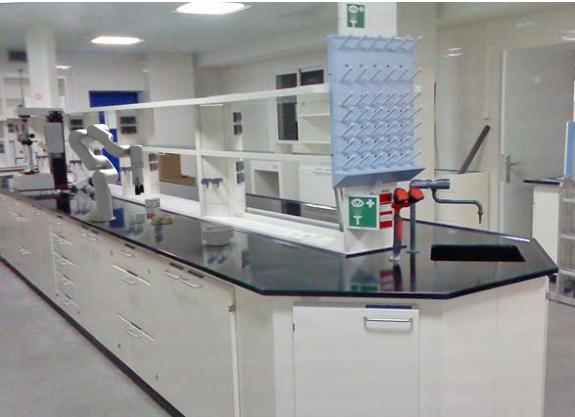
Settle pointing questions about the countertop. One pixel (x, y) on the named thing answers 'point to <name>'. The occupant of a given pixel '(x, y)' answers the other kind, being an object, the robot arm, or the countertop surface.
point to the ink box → (152, 207)
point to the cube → (141, 217)
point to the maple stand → (163, 219)
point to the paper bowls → (218, 235)
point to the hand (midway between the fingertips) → (139, 193)
